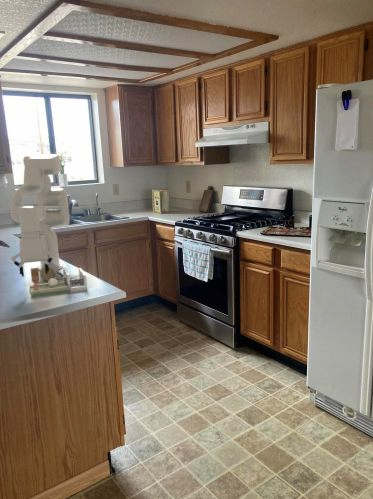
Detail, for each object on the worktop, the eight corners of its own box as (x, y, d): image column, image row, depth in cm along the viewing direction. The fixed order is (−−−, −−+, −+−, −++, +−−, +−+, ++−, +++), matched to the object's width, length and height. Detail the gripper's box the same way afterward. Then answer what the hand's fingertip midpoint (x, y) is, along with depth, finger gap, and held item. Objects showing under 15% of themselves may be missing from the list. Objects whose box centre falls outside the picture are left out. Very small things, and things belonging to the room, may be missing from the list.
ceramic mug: (39, 282, 194) (38, 266, 192) (42, 277, 202) (41, 262, 200) (63, 280, 196) (62, 265, 194) (64, 276, 204) (63, 261, 202)
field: (30, 289, 183) (29, 284, 182) (64, 284, 188) (64, 280, 188) (31, 297, 171) (31, 292, 171) (68, 292, 177) (67, 287, 176)
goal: (64, 284, 189) (62, 267, 187) (81, 282, 192) (80, 265, 190) (68, 293, 176) (66, 275, 175) (87, 290, 179) (85, 272, 178)
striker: (32, 287, 180) (30, 267, 178) (39, 286, 181) (37, 266, 179) (33, 291, 174) (31, 270, 172) (40, 290, 175) (38, 269, 173)
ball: (48, 286, 181) (47, 277, 180) (57, 285, 183) (56, 276, 182) (49, 288, 178) (48, 280, 177) (58, 287, 179) (57, 278, 178)
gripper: (51, 232, 179) (54, 270, 182) (8, 235, 172) (13, 275, 176) (53, 234, 172) (56, 274, 176) (8, 238, 166) (13, 279, 169)
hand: (34, 274), depth 176 cm, fingers open, 9 cm apart
